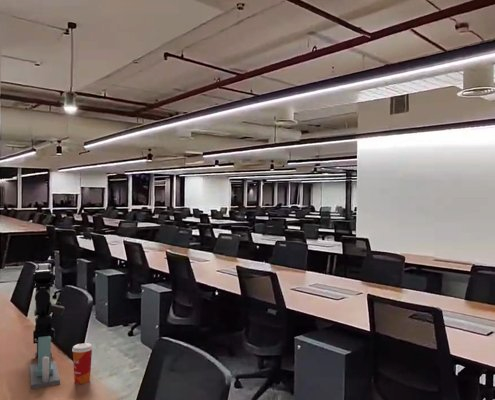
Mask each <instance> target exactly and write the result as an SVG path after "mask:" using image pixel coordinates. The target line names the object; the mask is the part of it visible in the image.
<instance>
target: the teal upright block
mask: <svg viewBox="0 0 495 400" xmlns="http://www.w3.org/2000/svg"><path fill="white" fill-rule="evenodd" d="M51 338H52V337H50V336H45V337H38V358H37V359H38V360H37V361H38V363H37V364H38V367H36V376H37V377H38V376H42V358H43V357H44V356H47V357H49V375H51V374H53V366H52V365H51V362H52V357H51V356H52V355H51V354H52V344H51V343H52V342H51Z"/></svg>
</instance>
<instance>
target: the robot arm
mask: <svg viewBox="0 0 495 400" xmlns="http://www.w3.org/2000/svg"><path fill="white" fill-rule="evenodd" d="M37 266H38V267H36V268H35V270H34V273H32V274H33V275H32V289H35V293H34V294H35V295H34V301H35V310H34V311H33V312H34V313H33V314H34V315H33V316H34V317H35V318H34V321H35V325H34V330H33V334H32V338H33V339H32V340H33V342H32V343H33V344H36V352H35V358H37V359H38V337H45V336H50V337H51V343H52V342H54V341H56V331H55V329H54V328H53V327H52V326H53V317H52V314H55V315H59V316H63V314H64V312H65V306H63V305H62V304H61V303H62V302H59V301H56V303H52V301H51V288H53V285H55V274H54V272H55V271H54V269H53V267H51V264H50V263H39V264H38V265H37ZM51 356H52V353H51Z"/></svg>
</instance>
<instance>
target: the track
mask: <svg viewBox="0 0 495 400" xmlns="http://www.w3.org/2000/svg"><path fill="white" fill-rule="evenodd" d="M51 365H52V366H53V374H51V375H49V357H47V356H44V357H43V358H42V376H38V377H37V376H36V367H38V363H33V364H29V373H30V374H29V376H30V388H31V389H39V388H44V387H50V386H56V385H60V384H61V379H60V375H59V369H58V365H57V362H56V360H53V361H52V360H51Z"/></svg>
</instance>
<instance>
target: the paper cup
mask: <svg viewBox="0 0 495 400" xmlns="http://www.w3.org/2000/svg"><path fill="white" fill-rule="evenodd" d="M71 351H72V360H73V377H74V384H76V385H84V384H85V385H86V384H88V383H89V382H90V381H91V372H92V369H91V368H92V357H93V355H92V354H93V345H92V344H91V343H89V342H88V343H87V342H86V343H84V342H83V343H77V344H75V345H73V346H72V350H71Z"/></svg>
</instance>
